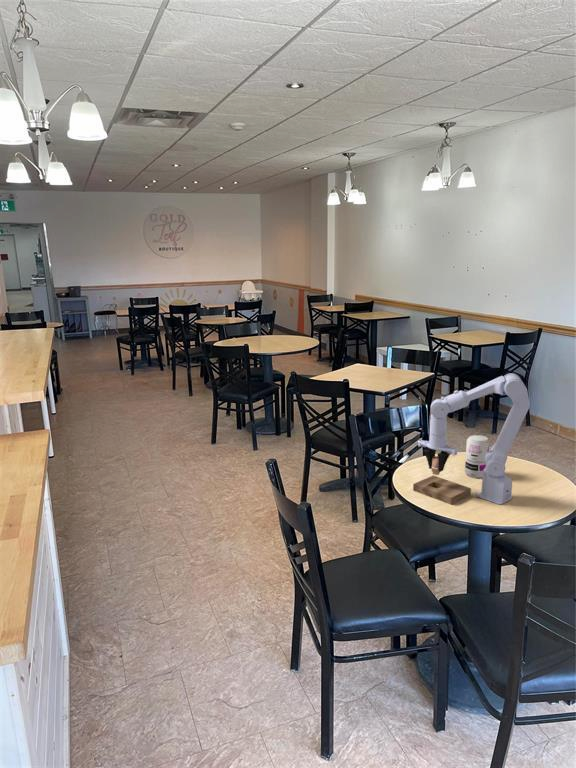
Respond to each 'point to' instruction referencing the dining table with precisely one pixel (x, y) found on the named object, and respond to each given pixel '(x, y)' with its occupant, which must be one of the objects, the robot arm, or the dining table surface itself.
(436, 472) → the peg
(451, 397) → the robot arm
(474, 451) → the supplement can
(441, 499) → the board
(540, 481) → the dining table surface
